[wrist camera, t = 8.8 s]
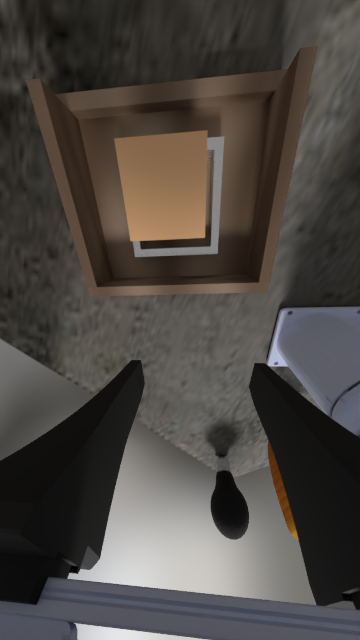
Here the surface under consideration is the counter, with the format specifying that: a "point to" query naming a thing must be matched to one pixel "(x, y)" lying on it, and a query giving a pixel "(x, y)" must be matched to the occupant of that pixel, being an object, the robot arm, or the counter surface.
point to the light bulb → (228, 503)
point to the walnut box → (237, 176)
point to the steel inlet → (216, 154)
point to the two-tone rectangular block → (164, 184)
